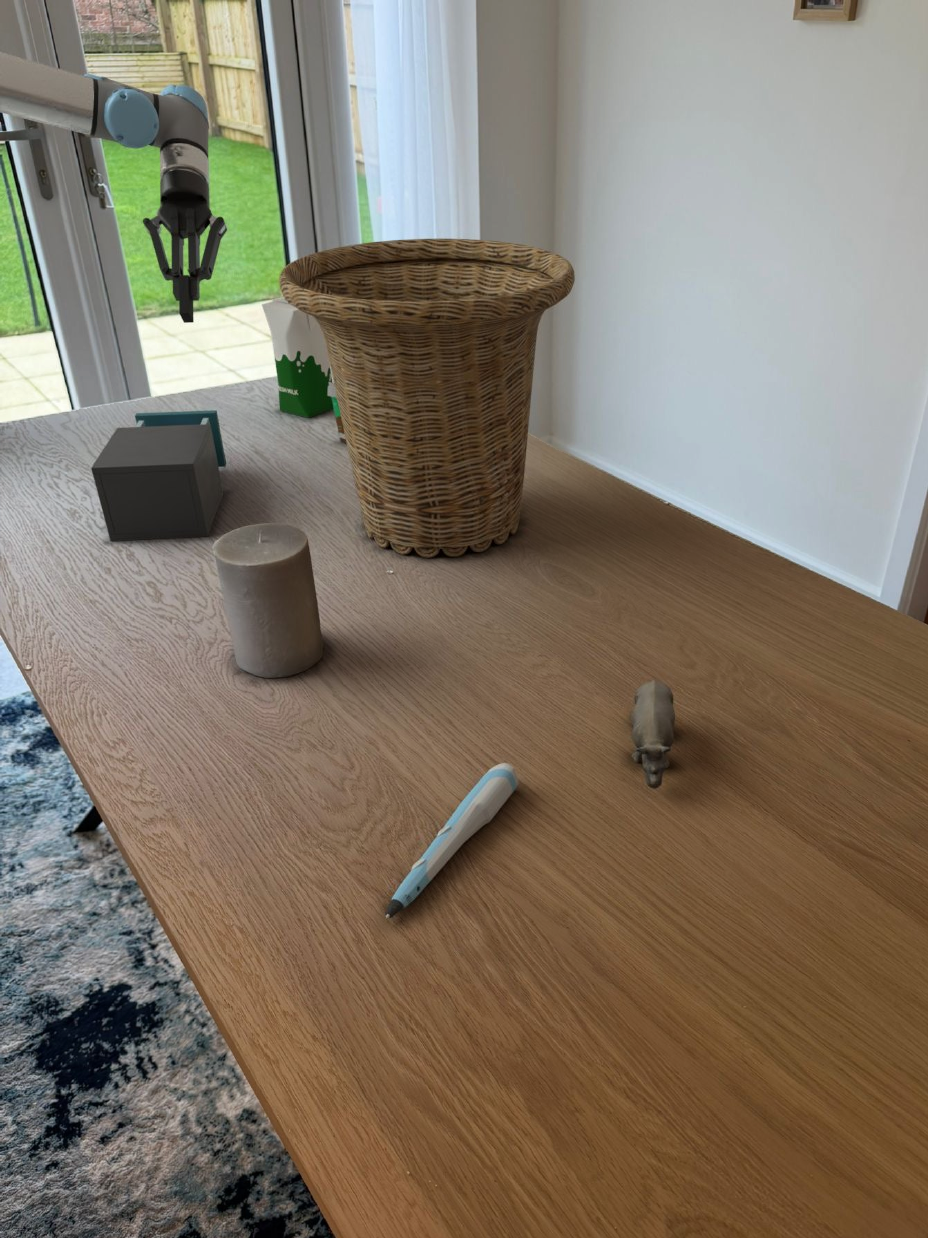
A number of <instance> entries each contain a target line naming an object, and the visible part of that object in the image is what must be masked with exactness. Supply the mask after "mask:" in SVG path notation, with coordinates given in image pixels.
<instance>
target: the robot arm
mask: <svg viewBox="0 0 928 1238" xmlns="http://www.w3.org/2000/svg"><path fill="white" fill-rule="evenodd" d="M0 114H4V115H8V116H13V117H17V118H21V119H25V120H29V121H32V122H37V123H40V124H45V125H49V126H53V127H56V128H61V129H64V130H69V131H71V132H76V133H80V134H85V135H88V136H93V137H95V138H99V139H102V140H106V141H110V142H114V143H118V144H120V145H121V146H122V147H125V148H129V149H135V150H136V149H142V148H145V147H147V146H150V147H155V148H159V178H160V181H159V195H160V196H159V208H158V209H157V212H156V215H155V216H154V217H152V218H149V217H145V218H143V219H142V224H143V226H144V227H145V230H146V232H147V234H148V235H149V236H150V239H151V241H152V242H151V243H152V246H153V249H154V252H155V256H156V260H157V263H158V267H159V270H160V272H161V274H162V276H163V278H164V280H166V281H172V296H173V298H174V299H175V301H176V302H178V309H179V310H178V311H179V312H178V313H179V316H180V318H181V319H182V322H183V323H185V324H186V323H187V324H189V323H194V321H195V319H194V302H198V301H199V300H200V294H201V293H200V283H201V282H202V281H204V280H206V281H209V280H211V279H212V276H213V272H214V268H215V265H216V260H217V256H218V253H219V249H220V246H221V240H222V238H223V237H224V236H225V234H226V233H227V231H228V227H227V224H226V222H225V219H224V217H223V216H215V215H213V212H212V210H211V209H210V208H211V206H210V205H211V203H210V160H209V130H210V123H209V115H208V114H209V113H208V107H207V103H206V100H205V99H204V97H203V95H202V94H201V93H200V92H199V91H197V90H196V89H195V88H193V87H191V86H189V85H185V84H179V85H175V84H169V85H167V86H165V87H164V88H163V89H162V90H161V91H160V94H158V93H154V92H153V93H152V92H150V91H146V90H143V89H140V88H138V87H134V86H132V85H128V84H125V83H122V82H119V81H116V80H113V79H110V78H108V77H106V76H99V75H95V74H93V73H85V74H80V73H77V72H74V71H70V70H66V69H63V68H59V67H56V66H52V65H49V64H46V63H42V62H39V61H34V60H32V59H28V58H24V57H20V56H17V55H13V54H10V53H6V52H3V51H0ZM162 226H163V227H164V228H165V229H166V230H167V232H168V233H169V234H170V238H171V239H170V240H171V241H170V242H171V243H170V244H171V267H170V264H169V262H168V261H169V260H168V257H167V254H166V251H165V245H164V244H163V240H162V238H161V234H162V233H161V232H162V228H161V227H162ZM208 227H209V231H208V235H207V238H206V243H205V247H204V250H203V254H202V258H201V255H200V253H201V250H200V247H201V236H202V235H203V234H204V233H205V231H206V230H207V229H208ZM186 239H187V261H188V264H187V266H188V267H187V268H186V269H187V273H188V274H184V246H185V240H186Z"/></svg>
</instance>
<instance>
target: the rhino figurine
mask: <svg viewBox="0 0 928 1238" xmlns="http://www.w3.org/2000/svg"><path fill="white" fill-rule="evenodd" d="M633 702H634V707H633V710H632V713H631V716H630V717H631V718H630V719H631V720H630V721H631V725H632V727H633V728H632V730H631V741H632V742H633V744H634V745H635V747H636V748H635V751H634V752H633V753H632V754H631V758H632V759H633V761H634V762H635V763H642V770H643V772H644V774H645V781H646V785H647V787H649V788H650V789H652V790H655V789H658V788H659V787H661V786H662V782H663V773H664V771H665V770H667V769H668V768H669V766H670V760H668V758H667V756H666V755H667V754H668V753H669V752H671V748H672V745H673V744H674V742H675V734H674V729H673V728H674V726H675V721H676V713H675V708H674V694H673V691H672V689H671V687H669V686H668V685H667V684H665V683H663V682H660V681H658V680H655V679H653V680H652V681H649V682H646V683H644V684H642V685H640V686H639V687H638V688H637V690H636V691H635V694H634V698H633Z"/></svg>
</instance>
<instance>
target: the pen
mask: <svg viewBox="0 0 928 1238" xmlns="http://www.w3.org/2000/svg"><path fill="white" fill-rule="evenodd" d="M518 785H519V778H518V775H517V772H516V771H515V768H514V767H513V765H511V764H509V763H508V762H503V763H499V764H497V765H494V766H493V767H491V768H490V769H489V770H487V772H486V773H485V774H484V775H483V776H482V777H481V778H480V780H479V781H478V782H477V783H476V784H475V785H474V787H473V788H472V789H471V790H470V791H469V793H468V794H467V795H466V796H465V797H464V799H463V800H462V801H461V802H460V803H459V805H458V807H456V809H455V811H453V813H452V815H451V816H450V817H449V819H448V820H447V822H446V823H445V825H444V826H443V828H440V830H439V831H438V832H437V835H436V837H435V838H434V840H433V841H432V842H431V844H430V845H429V846H428V847H427V849H426V850H425V852H424V853H423V854H422V856H421V857H420V858H419V859H418V861H415V863H414V864H413V865H412V866H411V869H410V872H409V873H408V874H407V875H406V877H405V878H404V879H403V880H402V882H401V883H400V885H399V886H398V887H397V890H396V891H395V893H394V895H392V898H391V900H390V903H389V905H388V907H387V909H386V911H385V914H384V915H385V919H386V920H387V919H392V918H393V917H394V916H396V915H397V914H398V913H400V912H401V911H402V910H404V909H405V908H406V907H408V906H409V905H410V904H411V903H412V902H413V901H414V900H415V899H416V898H417V897H418V896H419V895H420V894H421V893H422V891H423V890H424V889H425V888H426V887H427V885H428V884H429V883H430V882H431V881H432V880H433V879H434V877H436V875H437V874H438V873H439V872H440V871H441V869H442V868H443V867H444V866H445V865H446V864H447V863H448V862H449V860H451V858H452V857H453V856H454V855H455V854H456V852H457V851H458V850H459V849H460V848H461V847H462V846H463V844H464V843H466V841H468V840H469V839H471V837H472V836H473V835H474V834H475V833H477V832H478V831H479V830H480V829H481V828H482V827H483V826H485V825H487V824H489V823H490V822H491V821H492V820H493V819H494V817H495V816H496V815H497V814H498V812H499V811H500V809H501V808H502V807H503V805H505V803H506V802H507V801H508V799H509V798H510V797H511V796H512V794H513V793H514V792H515V791H516V789H517V787H518Z"/></svg>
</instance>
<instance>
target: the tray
mask: <svg viewBox="0 0 928 1238" xmlns="http://www.w3.org/2000/svg"><path fill="white" fill-rule="evenodd" d="M218 415H219V414H218V411H217V410H216V409H213V410H212V409H211V410H209V409H208V410H186V411H185V410H184V411H159V412H137V413H135V415H134V418H135V419H134V420H135V423H136V424H135V426H134V427H150V426H176V425H201V424H210V425H211V429H212V435H213V440H214V445H215V451H216V456H217V461H218V466H219V468H226V466H227V460H226V454H225V449H224V443H223V436H222V432H221V426H220V422H219V421H220V420H219V417H218Z"/></svg>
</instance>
